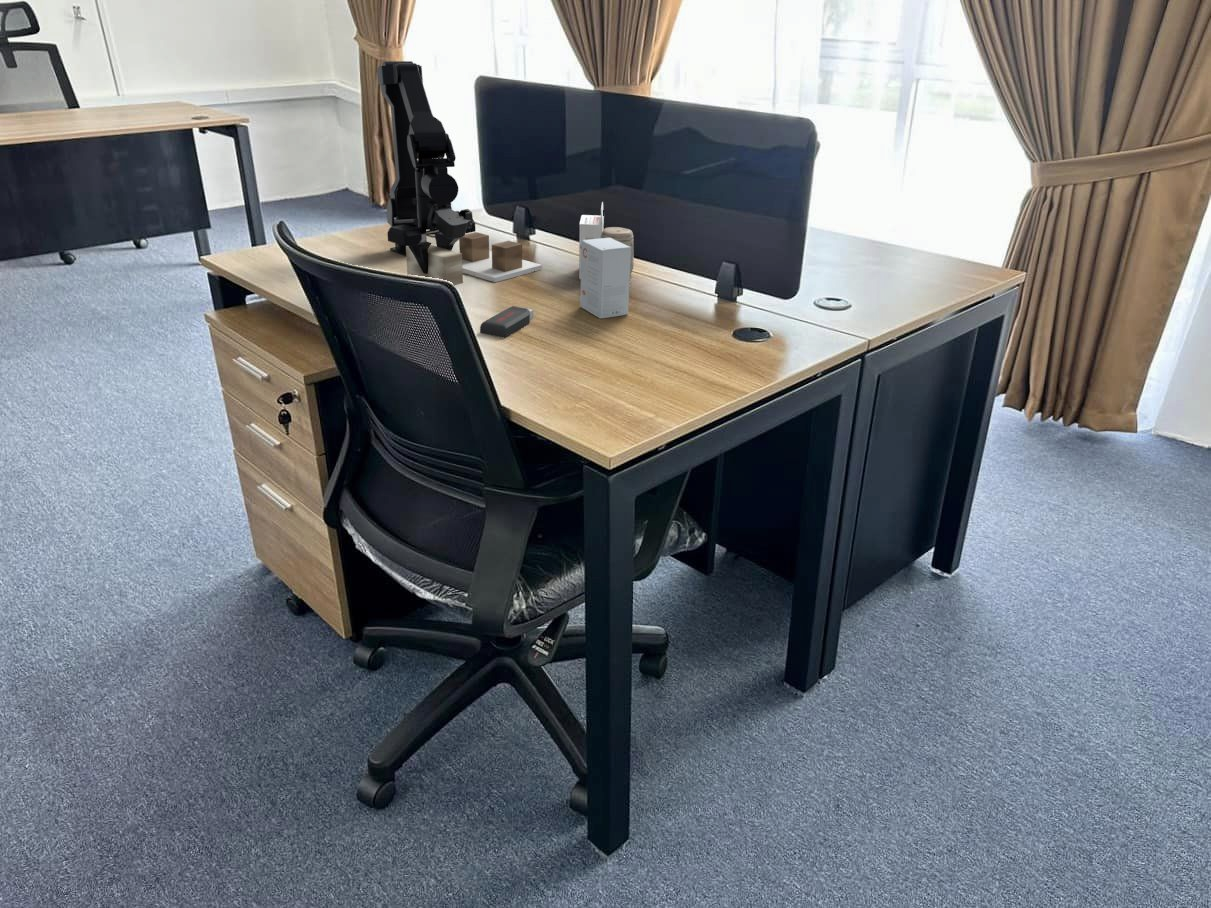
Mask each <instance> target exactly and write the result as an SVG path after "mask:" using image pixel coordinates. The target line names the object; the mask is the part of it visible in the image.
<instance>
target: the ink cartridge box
mask: <svg viewBox="0 0 1211 908" xmlns="http://www.w3.org/2000/svg"><path fill="white" fill-rule="evenodd" d="M600 207H601V208H600V215H596V214H594V215H591V214H582V215H581V216H580V220H579V225H578V226H579V242H578V243H579V253H578V254H579V255H578V256H579V257H578V258H579V259H578V262H579V268H578V269H579V270H578V280H581V258H582V240H589V239H600V238H601V233H602V232H603V230H604V226H605V225H604V223H605V221H604V219H605V215H604V216H603V210H604V201H602V202H601V206H600Z"/></svg>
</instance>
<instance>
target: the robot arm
mask: <svg viewBox="0 0 1211 908" xmlns="http://www.w3.org/2000/svg"><path fill="white" fill-rule="evenodd" d="M376 78H377V82H378V85H379V86H380V89H381V90H380V91H381V95H382V96H383V97H384V99H385V100H386V102H387V103H388V105H389V107H390V117H391V126H392V127H391V128H392V130H391V131H392V139H393V140H392V141H393V151H394V152H393V153H394V164H395V173H396V175H395V176H396V177H395V179H394V181H393V184H392V186H391V188H390V190H389V191H390V192H389V193H390V197H389V198H388V201H387V205H386V213H385V214H386V220H387V222H386V223H387V224H388V225H389V226H390V227H389V229H388V230H387V241H388V242H390V243H393V244H394V247H390V248H389V251H392V252H394V253H397V254H401V255H404V256H406V246H408V247H409V248H410V250H411V251H412V253H413V255H414V256H415V258H416V260H417V262H418V264H419V266H420V268H421V270H422V272H423V273H424V274H428V248H429V247H430V245H432V242H431V241H430V242H429V241H427V240H428V239H427V236H429V235H430V236H431V235H434V238H435V244H436V245H435V246H437V247H440V248H444V249H447V250H451V251H453V248H454V246H455V244H456V243H457V242H458V241H459V239H460V238H462V237H463V236H465V234H470V233H474V232H476V222H475V220H474V219H473V211H471V209H469V208H466V209H460V211H459V210H453V208H452V202H454V201H455V200H456V198H457V196H458V195H459V186H458V183H457V180H456V179H455V178H454V177H453V176H452V175H451V174H450V173H448V172H449V171H448V168H453V167H454V168H455V167H456V164H455V162H456V153H455V150H454V146H453V143H452V140H451V138H450V135H449V134H448V133H447V132H446V130H445V128H444V125H443V123H442V121H441V120H439V119H438V118H436V117H435V116H434V115H433V112H432V109H431V106H430V103H429V99H428V97H427V93H426V89H425V86H424V79H423V68H422V65H420V64H417V63H415V62H414V61H412V60H410V61H409V60H405V61H404V60H403V61H401V60H399V61H397V60H389V61H388V60H383V61H382V63H381V65H379V66H377V68H376ZM445 156H446V157H445Z"/></svg>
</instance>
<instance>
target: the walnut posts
mask: <svg viewBox="0 0 1211 908" xmlns="http://www.w3.org/2000/svg"><path fill="white" fill-rule="evenodd" d="M458 241H459V244H458V245H459V246H458V247H459V253H461V254H462V260H466V261H469V262H476V261H480V260H484V259H488V258H489V251H490V236H489V234H485V233H481V232H477V231H475V232H471V233H465V236H463V237H462V238H460V239H459V240H458ZM491 251H492V268H494V269H497V270H500V271H504V272H507V271H511V270H515V269H518V268H522V260H523V243H519V242H515V241H511V240H506V241H501V242H498V243H492V244H491Z"/></svg>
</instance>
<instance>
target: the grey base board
mask: <svg viewBox="0 0 1211 908" xmlns="http://www.w3.org/2000/svg"><path fill="white" fill-rule="evenodd" d="M542 270H543V265H542V264H540V263H536V262H532V261H529V260H525V259H522V268H518V269H515V270H511V271H507V272H504V271H500V270H497V269H494V268H492V250H489V258H488V259H484V260H480V261H476V262H469V261H466V260H462V271H463V274H466V275H468V276H473V277H476V278H478V279H482V280H486V281H489V282H493V283H498V282H502V281H506V280H508V279H509V280H510V279H513V278H517V277H521V276H524V275H527V274H531V273H535V272H538V271H542ZM534 271H535V272H534Z"/></svg>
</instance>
